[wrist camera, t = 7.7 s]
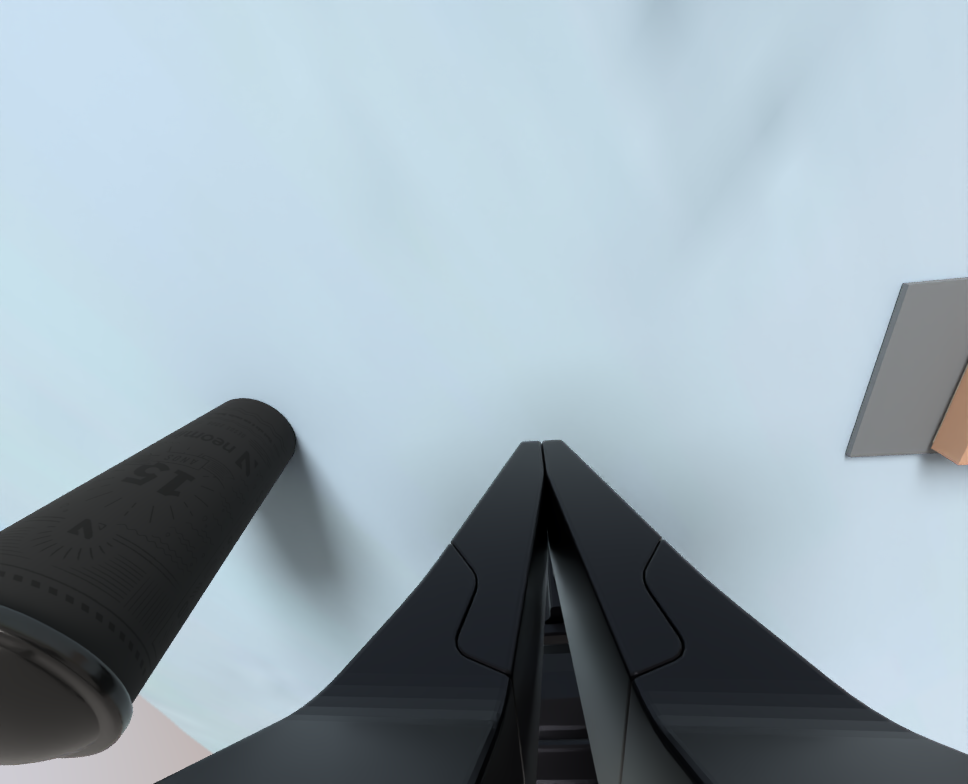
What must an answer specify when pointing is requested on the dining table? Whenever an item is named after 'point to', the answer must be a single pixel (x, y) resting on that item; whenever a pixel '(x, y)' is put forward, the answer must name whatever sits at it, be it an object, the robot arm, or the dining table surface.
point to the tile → (955, 426)
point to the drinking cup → (122, 576)
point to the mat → (915, 370)
